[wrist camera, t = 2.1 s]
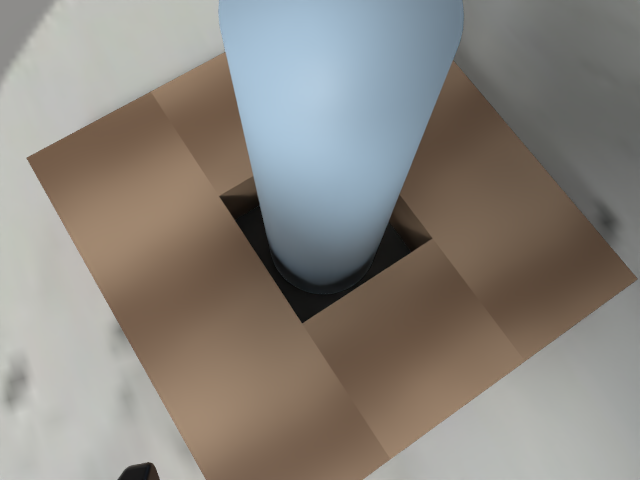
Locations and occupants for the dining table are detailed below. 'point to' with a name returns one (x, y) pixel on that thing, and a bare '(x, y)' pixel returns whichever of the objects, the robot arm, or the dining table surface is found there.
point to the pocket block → (343, 315)
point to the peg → (334, 119)
